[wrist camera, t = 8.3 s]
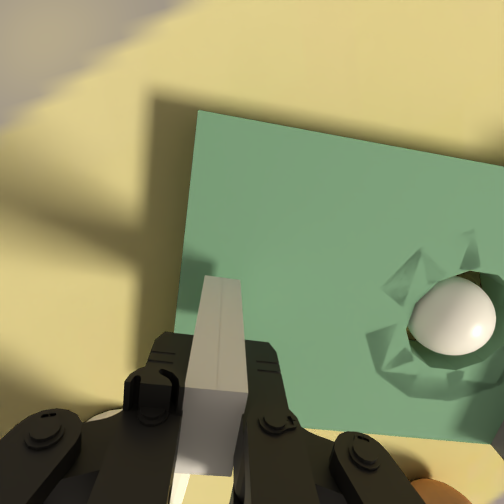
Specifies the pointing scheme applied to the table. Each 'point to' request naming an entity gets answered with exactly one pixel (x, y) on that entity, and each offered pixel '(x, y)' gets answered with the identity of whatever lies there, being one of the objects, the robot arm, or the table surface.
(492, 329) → the ball
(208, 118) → the green
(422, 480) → the egg
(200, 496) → the table surface
